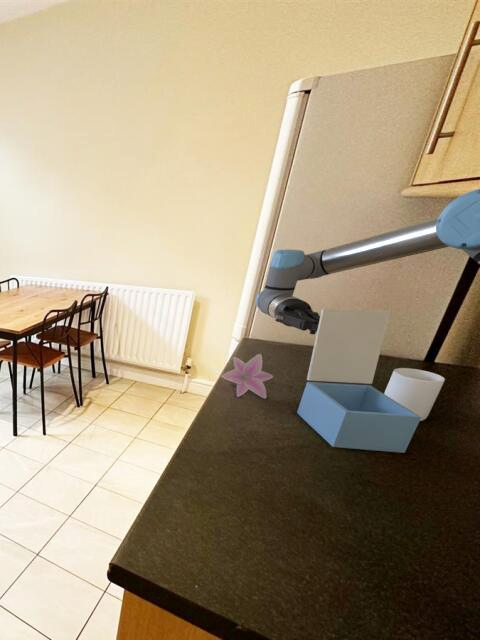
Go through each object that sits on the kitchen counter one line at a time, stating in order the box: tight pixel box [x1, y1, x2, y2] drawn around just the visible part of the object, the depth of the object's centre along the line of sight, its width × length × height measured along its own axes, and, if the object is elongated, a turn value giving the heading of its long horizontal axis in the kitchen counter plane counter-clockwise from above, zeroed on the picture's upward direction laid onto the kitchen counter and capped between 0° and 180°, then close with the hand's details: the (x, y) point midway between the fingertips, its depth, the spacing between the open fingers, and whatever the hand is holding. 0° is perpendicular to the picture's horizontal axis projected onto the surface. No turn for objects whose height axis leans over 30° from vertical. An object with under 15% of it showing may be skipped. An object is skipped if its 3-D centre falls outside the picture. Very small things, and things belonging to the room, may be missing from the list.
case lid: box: [306, 308, 391, 385], centre depth 94 cm, size 16×13×1 cm
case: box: [296, 381, 421, 454], centre depth 91 cm, size 16×13×8 cm
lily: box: [221, 353, 274, 399], centre depth 111 cm, size 12×12×10 cm
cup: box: [383, 367, 446, 422], centre depth 98 cm, size 8×12×10 cm
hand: (336, 334), depth 97 cm, fingers closed
